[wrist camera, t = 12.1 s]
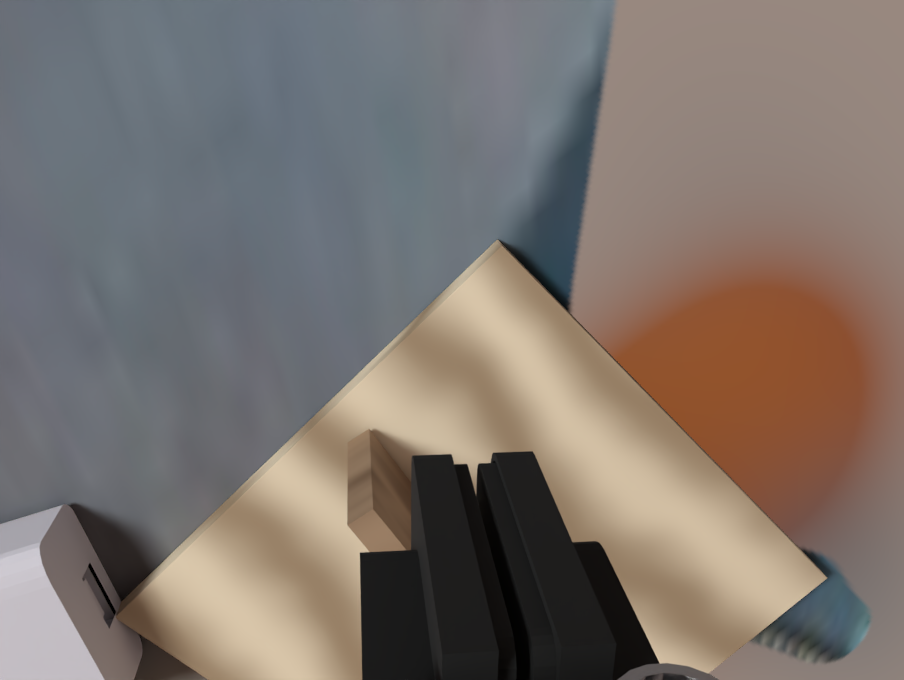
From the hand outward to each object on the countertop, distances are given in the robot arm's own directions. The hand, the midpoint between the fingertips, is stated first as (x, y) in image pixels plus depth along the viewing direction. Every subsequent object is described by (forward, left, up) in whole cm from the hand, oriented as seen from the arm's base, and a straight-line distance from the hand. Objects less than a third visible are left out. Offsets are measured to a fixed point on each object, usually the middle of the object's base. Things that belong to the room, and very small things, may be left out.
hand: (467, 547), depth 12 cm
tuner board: (+11, +18, -27) cm, 34 cm away
